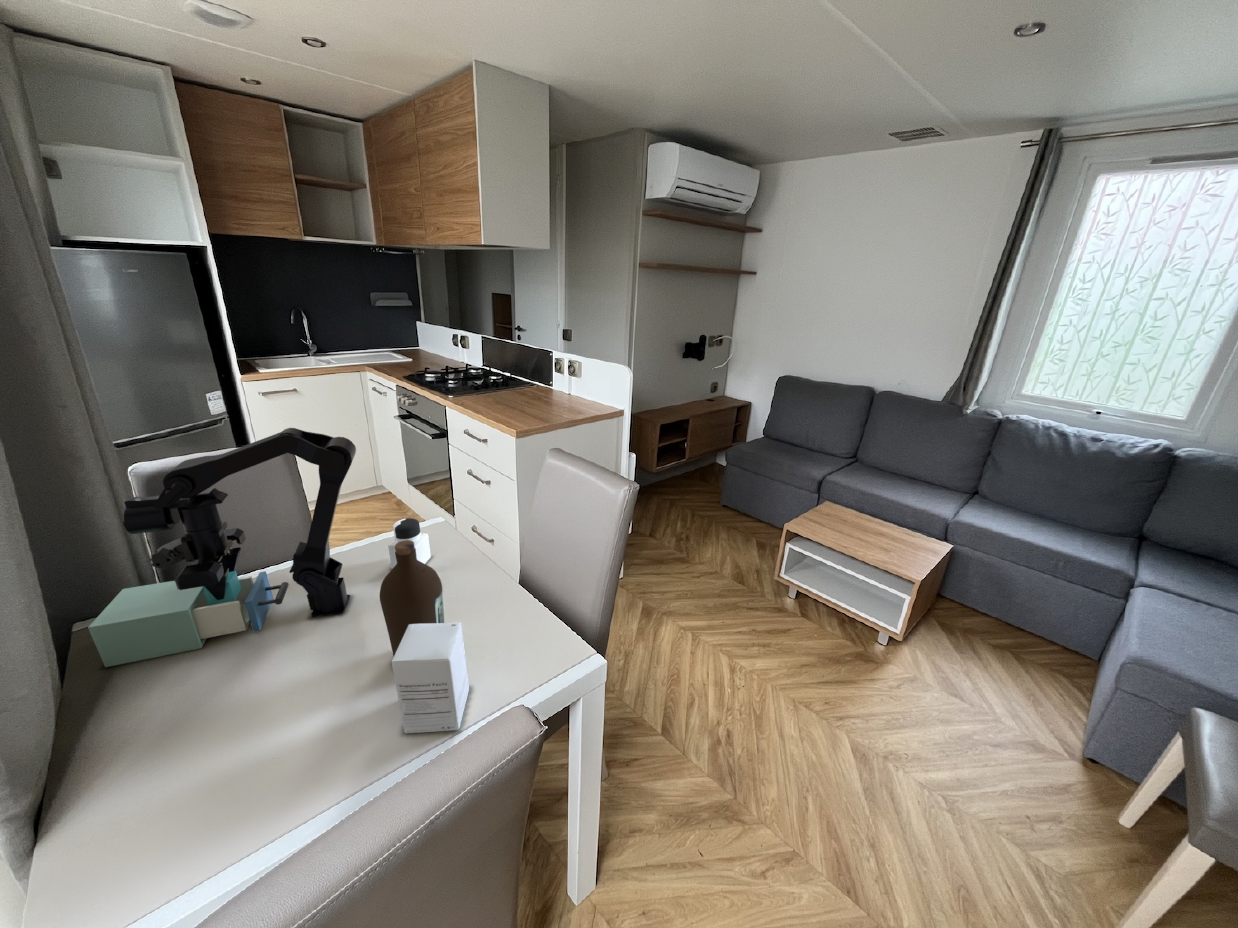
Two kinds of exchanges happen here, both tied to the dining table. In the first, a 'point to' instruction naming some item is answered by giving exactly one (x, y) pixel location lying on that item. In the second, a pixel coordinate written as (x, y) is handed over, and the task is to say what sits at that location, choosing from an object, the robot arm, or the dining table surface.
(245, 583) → the drawer
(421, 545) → the medicine bottle
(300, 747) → the dining table surface
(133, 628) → the cabinet
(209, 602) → the block
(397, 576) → the olive oil
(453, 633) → the white product box
